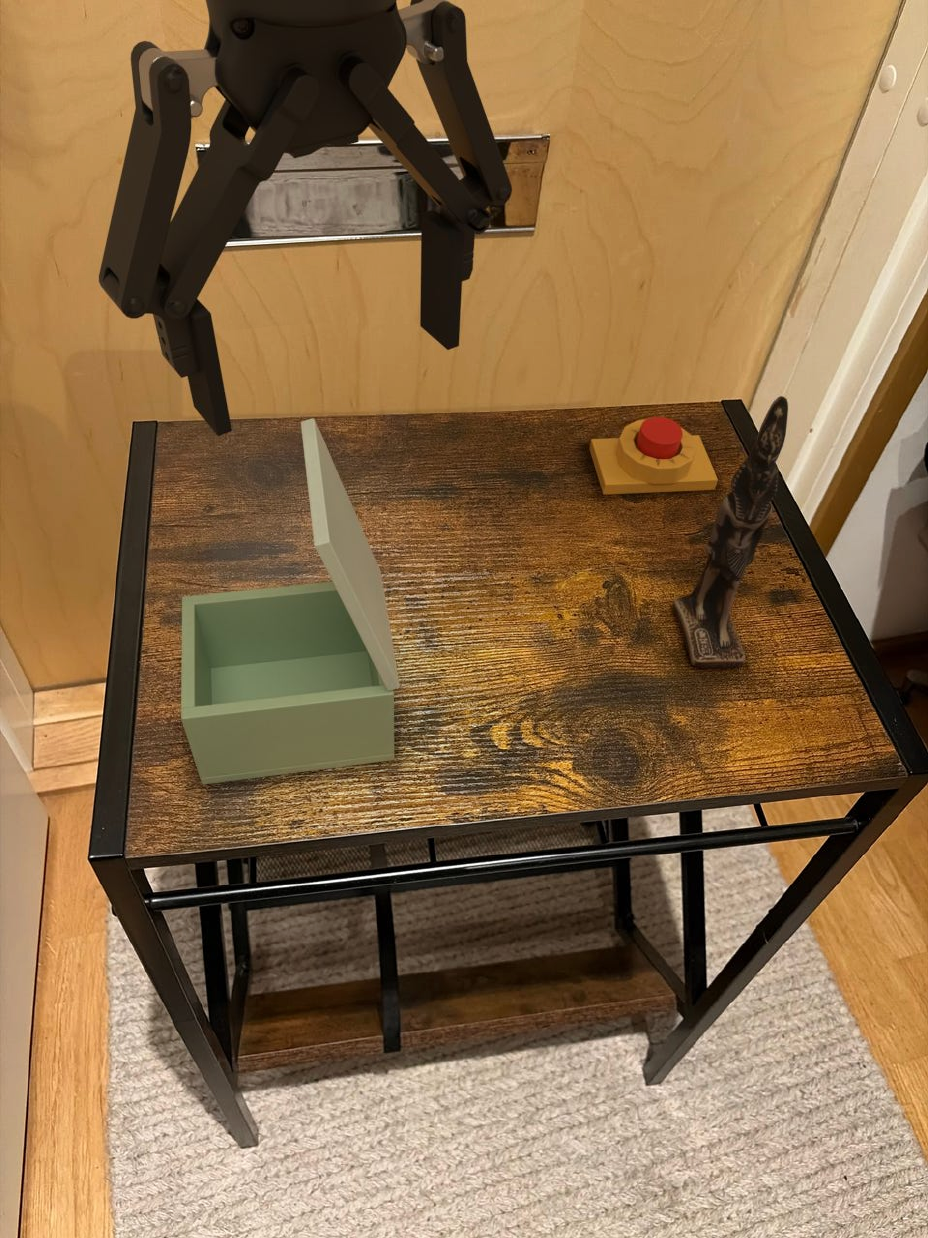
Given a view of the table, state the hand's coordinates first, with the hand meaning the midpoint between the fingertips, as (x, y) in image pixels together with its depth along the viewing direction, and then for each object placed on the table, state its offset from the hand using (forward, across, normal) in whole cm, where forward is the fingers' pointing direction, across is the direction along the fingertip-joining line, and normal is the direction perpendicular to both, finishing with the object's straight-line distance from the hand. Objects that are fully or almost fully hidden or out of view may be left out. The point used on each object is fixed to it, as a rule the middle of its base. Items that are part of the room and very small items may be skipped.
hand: (332, 375), depth 49 cm
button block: (+25, -33, -4) cm, 41 cm away
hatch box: (+25, +6, +2) cm, 25 cm away
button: (+22, -33, -4) cm, 40 cm away
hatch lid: (+10, +2, +4) cm, 11 cm away
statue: (+25, -23, +12) cm, 36 cm away
